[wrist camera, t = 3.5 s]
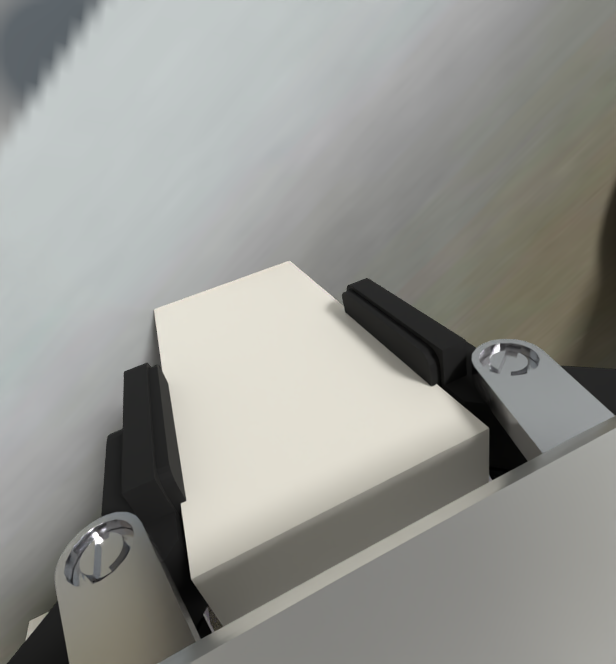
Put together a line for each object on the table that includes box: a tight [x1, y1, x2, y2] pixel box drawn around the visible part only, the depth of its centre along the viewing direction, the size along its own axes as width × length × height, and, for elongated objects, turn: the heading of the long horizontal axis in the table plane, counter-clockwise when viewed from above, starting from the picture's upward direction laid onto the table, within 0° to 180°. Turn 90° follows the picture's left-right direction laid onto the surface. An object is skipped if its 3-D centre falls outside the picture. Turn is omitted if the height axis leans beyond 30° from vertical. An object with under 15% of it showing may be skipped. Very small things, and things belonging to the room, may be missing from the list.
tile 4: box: [154, 261, 489, 627], centre depth 11 cm, size 2×5×10 cm, turn 103°
